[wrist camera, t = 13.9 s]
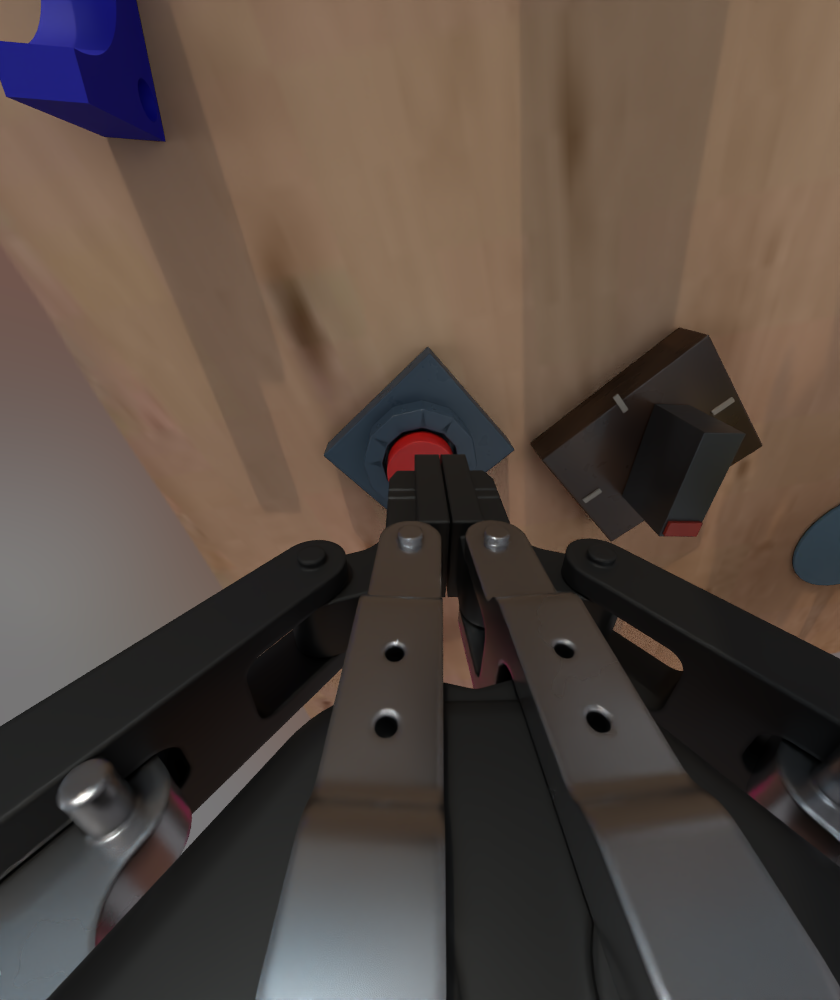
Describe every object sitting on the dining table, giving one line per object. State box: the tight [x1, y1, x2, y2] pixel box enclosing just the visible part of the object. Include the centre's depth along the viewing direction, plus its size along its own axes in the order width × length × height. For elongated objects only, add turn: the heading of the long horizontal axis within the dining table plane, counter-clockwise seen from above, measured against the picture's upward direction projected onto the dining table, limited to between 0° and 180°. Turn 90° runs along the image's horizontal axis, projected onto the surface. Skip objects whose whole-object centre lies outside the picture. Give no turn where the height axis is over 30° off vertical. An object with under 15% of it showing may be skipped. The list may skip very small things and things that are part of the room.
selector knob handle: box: [622, 404, 746, 537], centre depth 26 cm, size 7×2×5 cm, turn 177°
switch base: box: [531, 328, 762, 541], centre depth 29 cm, size 12×11×3 cm
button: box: [387, 431, 453, 481], centre depth 26 cm, size 4×4×2 cm
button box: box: [324, 347, 514, 509], centre depth 28 cm, size 10×9×4 cm
